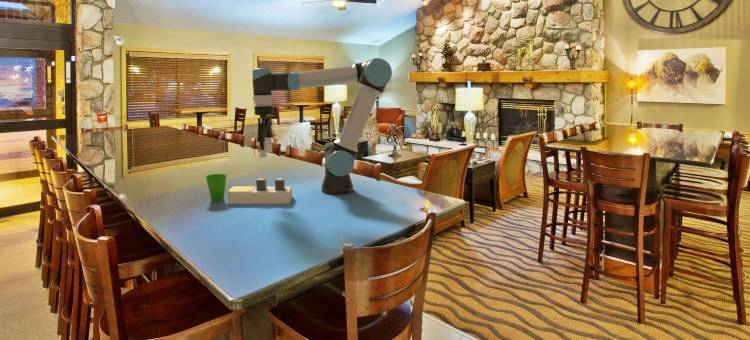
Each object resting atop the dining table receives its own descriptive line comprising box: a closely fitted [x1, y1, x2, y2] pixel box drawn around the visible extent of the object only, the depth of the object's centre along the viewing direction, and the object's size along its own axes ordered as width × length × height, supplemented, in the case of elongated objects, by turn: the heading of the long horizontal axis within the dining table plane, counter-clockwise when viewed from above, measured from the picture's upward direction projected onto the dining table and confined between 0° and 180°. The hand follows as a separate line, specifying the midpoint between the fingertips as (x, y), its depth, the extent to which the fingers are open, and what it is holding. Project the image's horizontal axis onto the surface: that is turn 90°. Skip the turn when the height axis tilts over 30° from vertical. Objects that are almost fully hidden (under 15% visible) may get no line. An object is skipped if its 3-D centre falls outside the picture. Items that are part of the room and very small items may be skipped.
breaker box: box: [226, 185, 293, 205], centre depth 207 cm, size 26×11×5 cm, turn 93°
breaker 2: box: [274, 177, 286, 191], centre depth 207 cm, size 4×4×6 cm
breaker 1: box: [255, 178, 267, 191], centre depth 206 cm, size 4×4×6 cm
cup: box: [204, 173, 228, 203], centre depth 207 cm, size 9×9×11 cm
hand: (266, 154), depth 205 cm, fingers open, 13 cm apart
